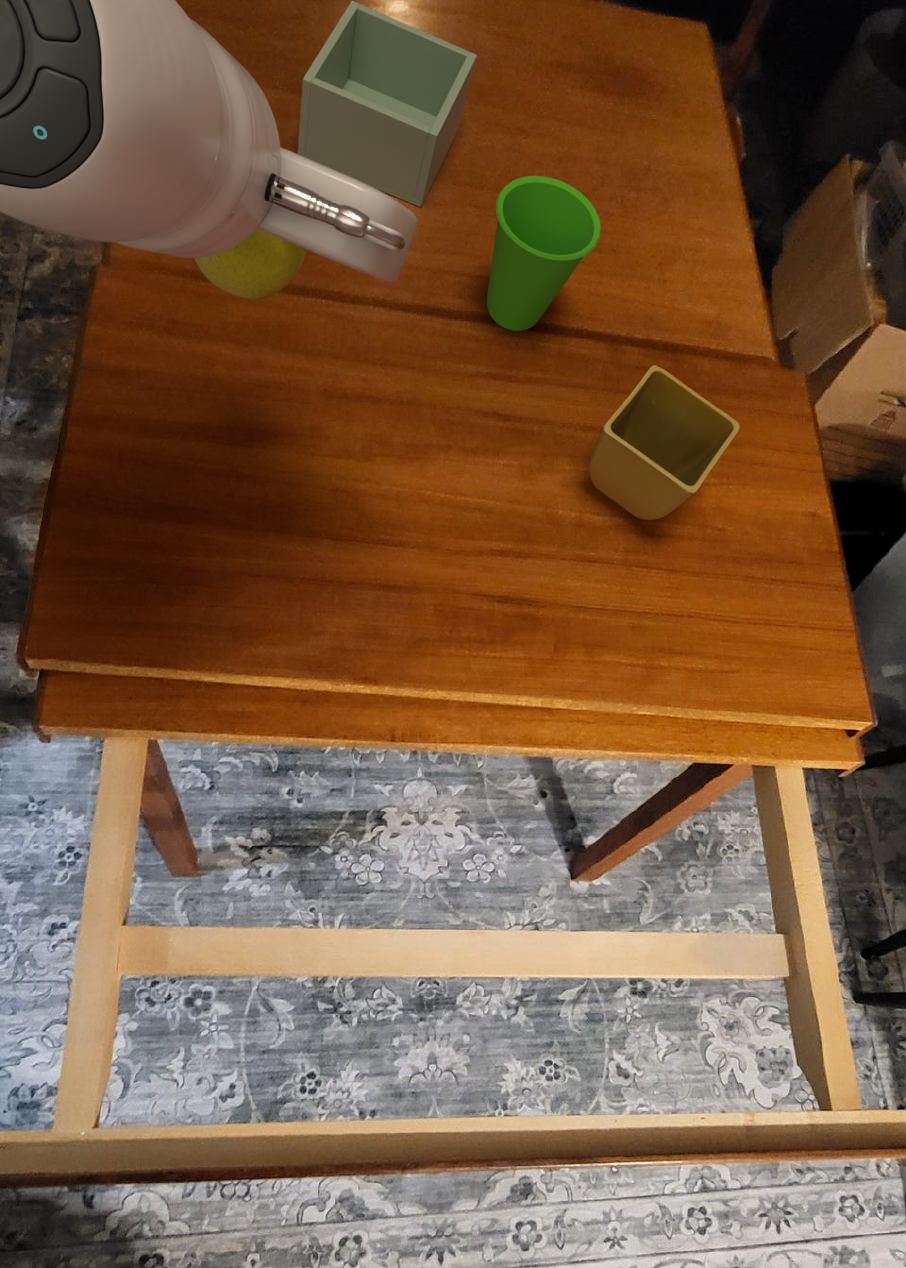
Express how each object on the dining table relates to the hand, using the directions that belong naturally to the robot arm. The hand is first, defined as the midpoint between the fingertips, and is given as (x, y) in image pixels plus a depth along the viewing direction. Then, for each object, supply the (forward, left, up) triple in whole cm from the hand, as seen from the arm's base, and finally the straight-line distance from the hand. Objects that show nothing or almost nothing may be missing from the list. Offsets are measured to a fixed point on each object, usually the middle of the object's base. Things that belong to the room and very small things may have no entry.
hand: (255, 189), depth 52 cm
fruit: (0, -1, -7) cm, 7 cm away
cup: (+16, +23, -23) cm, 37 cm away
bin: (-2, +37, -23) cm, 44 cm away
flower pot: (+31, +9, -23) cm, 40 cm away
